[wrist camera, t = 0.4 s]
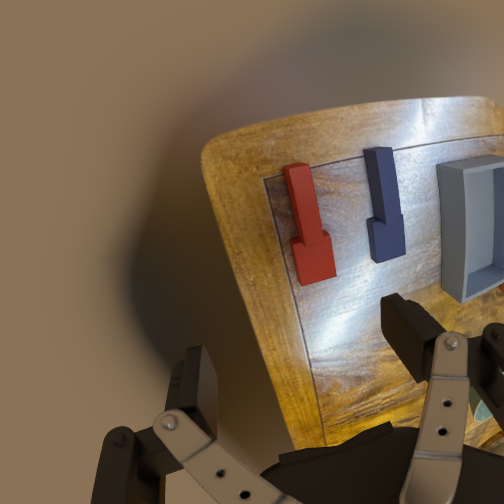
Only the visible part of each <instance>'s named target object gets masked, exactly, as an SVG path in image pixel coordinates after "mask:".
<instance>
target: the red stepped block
mask: <svg viewBox="0 0 504 504" xmlns="http://www.w3.org/2000/svg"><path fill="white" fill-rule="evenodd" d="M283 170H284V174H285V179H286V183H287V187H288V191H289V196H290V200H291V204H292V209H293V213H294V218H295V222H296V227H297V231H298V236H299V238H295V239H291V240H290V243H291V248H292V252H293V257H294V261H295V266H296V271H297V275H298V280H299V282H300V284H301V286H305V285H309V284H312V283H315V282H319V281H322V280H326V279H329V278H333V277H336V276H337V275H336V268H335V262H334V256H333V250H332V244H331V238H330V234H329V233H328V232H327V231H326V230H325V231H323V229H322V224H321V219H320V214H319V209H318V204H317V199H316V194H315V189H314V185H313V180H312V175H311V171H310V166H309V164H306V163H302V162H301V163H296V164H292V165H288V166H284V167H283Z"/></svg>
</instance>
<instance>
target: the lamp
mask: <svg viewBox="0 0 504 504" xmlns="http://www.w3.org/2000/svg"><path fill="white" fill-rule="evenodd" d="M503 442H504V434H503V433H502V432H499V433H497V434H496V435H494V436H493V437H492V438H490V439H489V440H488V441H487V442H486V443H485V444H484V445H483V446H482V447H481V448H480V449H481V450H484V451H487V452H491V453H494V454H498V455H501V456H504V443H503Z"/></svg>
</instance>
